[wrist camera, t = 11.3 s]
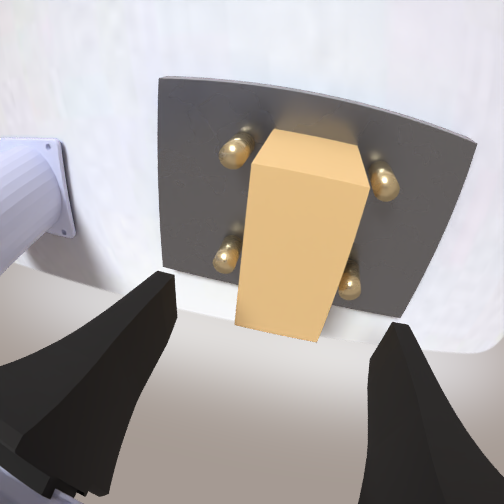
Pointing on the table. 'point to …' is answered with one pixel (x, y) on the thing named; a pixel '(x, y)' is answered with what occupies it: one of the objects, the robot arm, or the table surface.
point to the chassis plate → (315, 124)
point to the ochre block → (298, 232)
